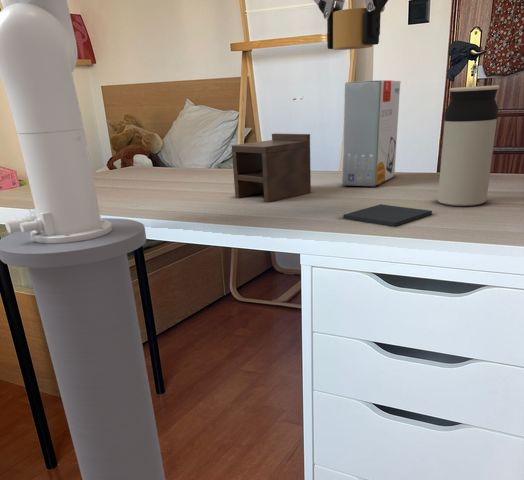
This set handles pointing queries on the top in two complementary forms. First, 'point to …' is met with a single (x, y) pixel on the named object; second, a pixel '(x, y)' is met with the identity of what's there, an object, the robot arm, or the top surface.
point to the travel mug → (468, 145)
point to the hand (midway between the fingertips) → (352, 45)
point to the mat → (387, 215)
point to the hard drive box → (370, 132)
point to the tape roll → (348, 29)
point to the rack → (273, 167)
